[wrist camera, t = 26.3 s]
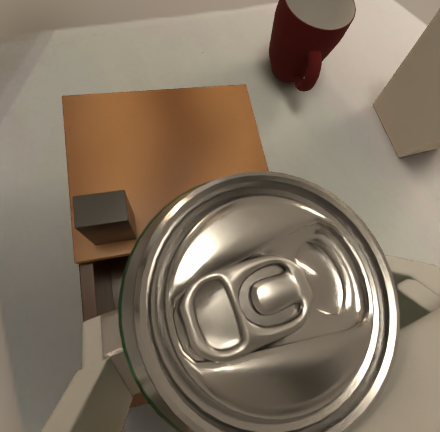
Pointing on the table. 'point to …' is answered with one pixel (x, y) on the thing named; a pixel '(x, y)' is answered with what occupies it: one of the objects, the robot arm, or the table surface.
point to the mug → (306, 37)
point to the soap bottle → (414, 97)
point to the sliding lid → (149, 157)
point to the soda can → (259, 309)
